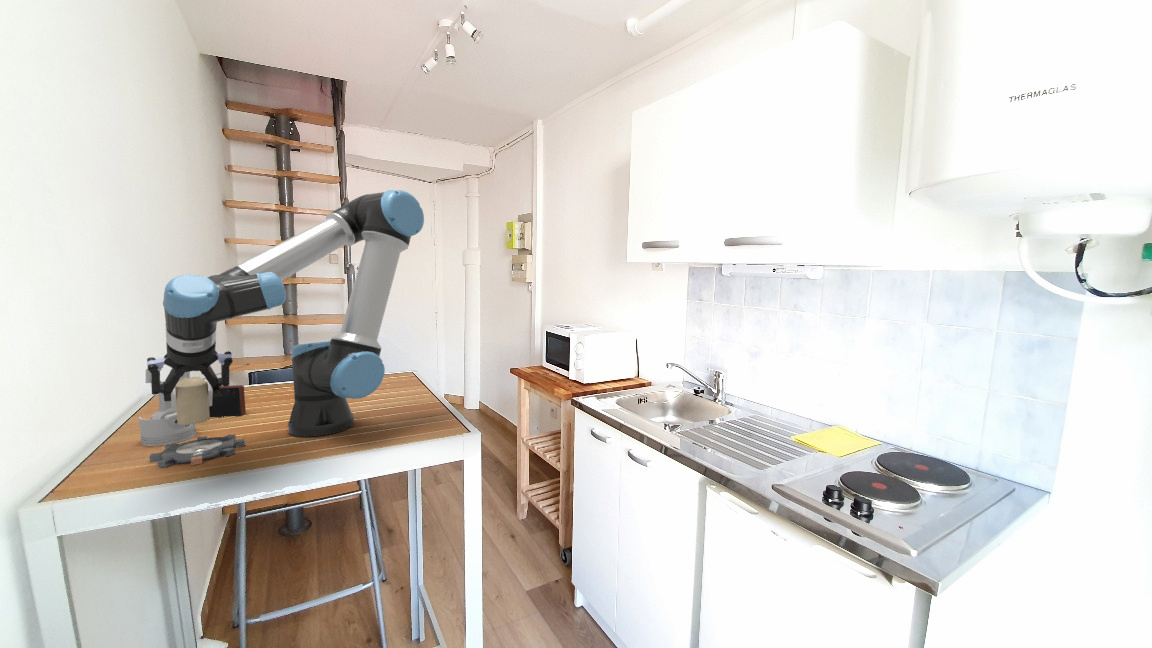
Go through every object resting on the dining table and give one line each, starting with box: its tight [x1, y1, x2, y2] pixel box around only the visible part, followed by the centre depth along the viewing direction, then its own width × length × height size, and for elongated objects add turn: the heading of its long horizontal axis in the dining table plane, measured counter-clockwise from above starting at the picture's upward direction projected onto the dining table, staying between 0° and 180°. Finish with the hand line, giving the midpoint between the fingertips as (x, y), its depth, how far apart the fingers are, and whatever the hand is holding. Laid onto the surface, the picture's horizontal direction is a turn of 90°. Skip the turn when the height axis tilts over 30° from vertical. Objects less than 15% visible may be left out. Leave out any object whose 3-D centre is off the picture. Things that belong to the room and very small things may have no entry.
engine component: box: [138, 355, 197, 447], centre depth 109 cm, size 11×20×10 cm
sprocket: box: [149, 434, 246, 468], centre depth 101 cm, size 16×16×1 cm
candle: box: [175, 376, 211, 425], centre depth 99 cm, size 6×6×10 cm
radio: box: [202, 363, 250, 418], centre depth 126 cm, size 19×3×15 cm, turn 103°
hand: (191, 403), depth 102 cm, fingers closed on candle, 5 cm apart
